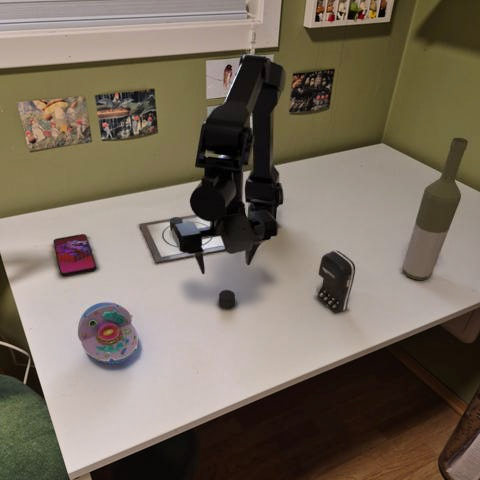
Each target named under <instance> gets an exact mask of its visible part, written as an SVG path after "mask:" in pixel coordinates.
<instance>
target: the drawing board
mask: <svg viewBox="0 0 480 480" xmlns="http://www.w3.org/2000/svg"><path fill="white" fill-rule="evenodd" d="M178 217H179V218H182V220H183V223H186V222H192V221H193V222H194V223H195V225H196V227H197V228H203V227H209V226H210V222H209V221H205V220H202V219H200V218H199V217H197V216H196V215H195V214H193V215H187V216H178ZM170 219H171V218H167V219H161V220H155V221H149V222H143V223H139V227H140V229H141V231H142V233H143V236H144V238H145V240H146V243H147V245H148V247H149V249H150V251H151V253H152V256H153V259H154V260H155V263H156V264H161V263H166V262H170V261H176V260H181V259H187V258H192V257H194V255H193V254H187V252H185V253H184V252H180V250H179V248H178V247H177V245H176V243H175V241H174V239H173V235H172V231H171V230H170ZM201 247H202V248H203V250H204V252H203V255H209V254H214V253H219V252H224V251H225V252H226V250H225V247H224V244H223V242H222V239H221V237H220V236H219V237H214V238H208V239H202V246H201Z"/></svg>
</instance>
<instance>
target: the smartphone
mask: <svg viewBox="0 0 480 480" xmlns="http://www.w3.org/2000/svg"><path fill="white" fill-rule="evenodd" d="M88 239H89V238H88V236H87V234H85V233H81V234H80V233H79V234H74V235H69V236H68V235H67V236H63V237H57V238H55V239H53V247H54V252H55V256H56V259H57V264H58V268H59V274H60V276H62V277H68V276H72V275H77V274H82V273H86V272H87V273H88V272H91V271H92V272H93V271H95V270H96V269H97V265H96V262H95V261H96V260H95V258H94V255H93V251H92V249H91V245H90V242H89V240H88Z"/></svg>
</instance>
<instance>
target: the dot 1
mask: <svg viewBox="0 0 480 480" xmlns="http://www.w3.org/2000/svg"><path fill="white" fill-rule="evenodd" d="M179 217H180V216H173V217H171V218H169V219H170V230H171V231H172V228H173V227H174V225H175V224H180V223H183V220H182V218H179Z"/></svg>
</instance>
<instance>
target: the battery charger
mask: <svg viewBox="0 0 480 480" xmlns="http://www.w3.org/2000/svg"><path fill="white" fill-rule="evenodd" d="M318 275H319V277H321V278H322V284H321V286H320V288H319V291H318V294H317V299H318V300H319V301H320V302H321V303H322V304H323V305H325V306H326V307H327V308H328V309H329V310H330V311H332V312H334V313H340V312H342V311H345V310H347V307H348V303H349V299H350V295H351V291H352V288H353V284H354V279H355V275H356V265H355V263H354V261H353V260H352V259H350V258H349V257H348V256H346V254H344V253H342V252H341V251H339V250H331V251H330V252H327V253H324V254H323V256H322V257H321V259H320V263H319V268H318Z"/></svg>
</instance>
